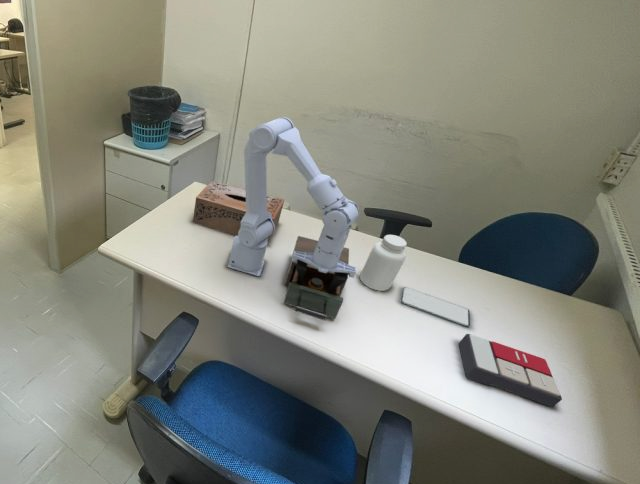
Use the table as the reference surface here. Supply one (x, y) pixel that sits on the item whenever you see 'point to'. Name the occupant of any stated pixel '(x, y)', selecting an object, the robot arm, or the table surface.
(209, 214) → the tissue box cover
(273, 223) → the robot arm
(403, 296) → the smartphone
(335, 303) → the drawer
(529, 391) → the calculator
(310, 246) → the cabinet
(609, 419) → the table surface
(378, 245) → the pill bottle
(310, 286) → the bottle
